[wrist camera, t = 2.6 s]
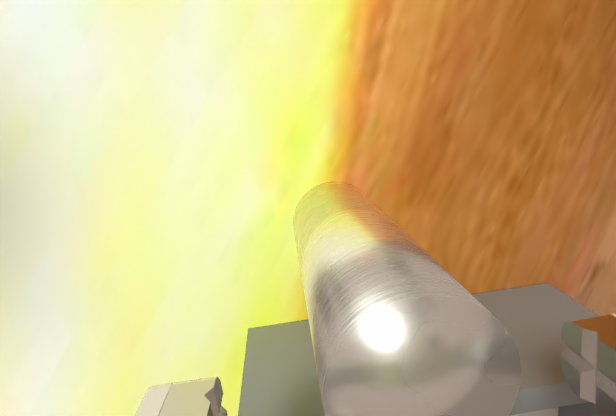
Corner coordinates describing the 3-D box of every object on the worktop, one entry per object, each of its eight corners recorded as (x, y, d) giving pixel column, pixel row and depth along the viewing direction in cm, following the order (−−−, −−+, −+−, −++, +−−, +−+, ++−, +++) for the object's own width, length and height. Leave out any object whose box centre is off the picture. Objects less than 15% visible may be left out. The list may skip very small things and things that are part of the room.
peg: (288, 187, 19) (310, 314, 7) (371, 176, 19) (522, 281, 7) (298, 266, 20) (333, 487, 8) (377, 254, 20) (519, 454, 8)
